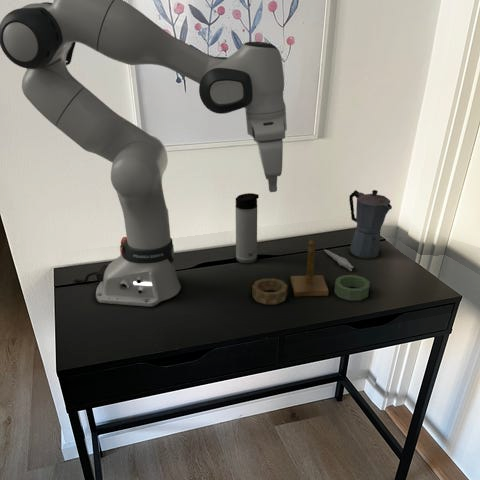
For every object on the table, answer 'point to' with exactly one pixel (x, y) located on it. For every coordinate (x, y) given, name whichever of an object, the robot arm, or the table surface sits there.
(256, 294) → the birch ring
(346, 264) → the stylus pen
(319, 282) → the peg stand
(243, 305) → the table surface
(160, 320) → the table surface
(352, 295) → the sage ring
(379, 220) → the moka pot
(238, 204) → the travel mug
